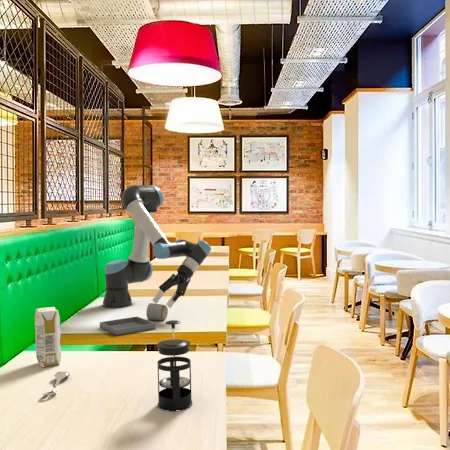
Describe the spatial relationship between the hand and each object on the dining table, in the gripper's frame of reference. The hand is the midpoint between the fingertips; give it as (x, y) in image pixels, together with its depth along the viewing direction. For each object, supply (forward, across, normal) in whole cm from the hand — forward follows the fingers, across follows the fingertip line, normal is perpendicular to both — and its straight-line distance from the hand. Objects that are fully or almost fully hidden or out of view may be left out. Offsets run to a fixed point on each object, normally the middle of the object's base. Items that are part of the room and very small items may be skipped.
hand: (161, 304), depth 253 cm
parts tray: (+19, -6, +9) cm, 22 cm away
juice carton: (+50, -35, +40) cm, 73 cm away
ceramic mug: (+6, +2, -5) cm, 8 cm away
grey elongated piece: (+54, -61, +43) cm, 92 cm away
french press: (+39, -96, +28) cm, 107 cm away
